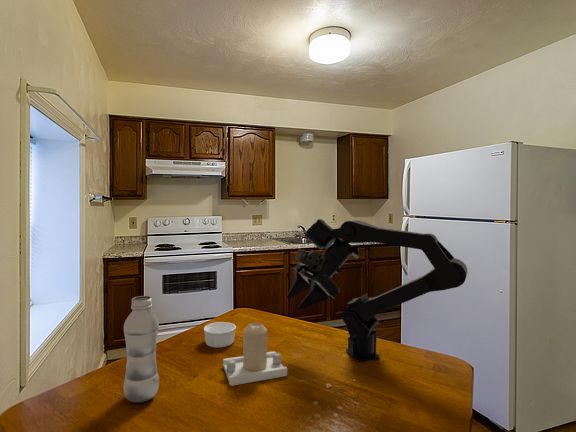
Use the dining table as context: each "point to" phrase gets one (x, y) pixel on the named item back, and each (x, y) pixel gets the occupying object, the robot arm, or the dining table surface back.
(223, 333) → the ramekin
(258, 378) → the tray
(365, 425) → the dining table surface
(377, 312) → the robot arm
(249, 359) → the candle
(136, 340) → the plastic bottle
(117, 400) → the dining table surface
